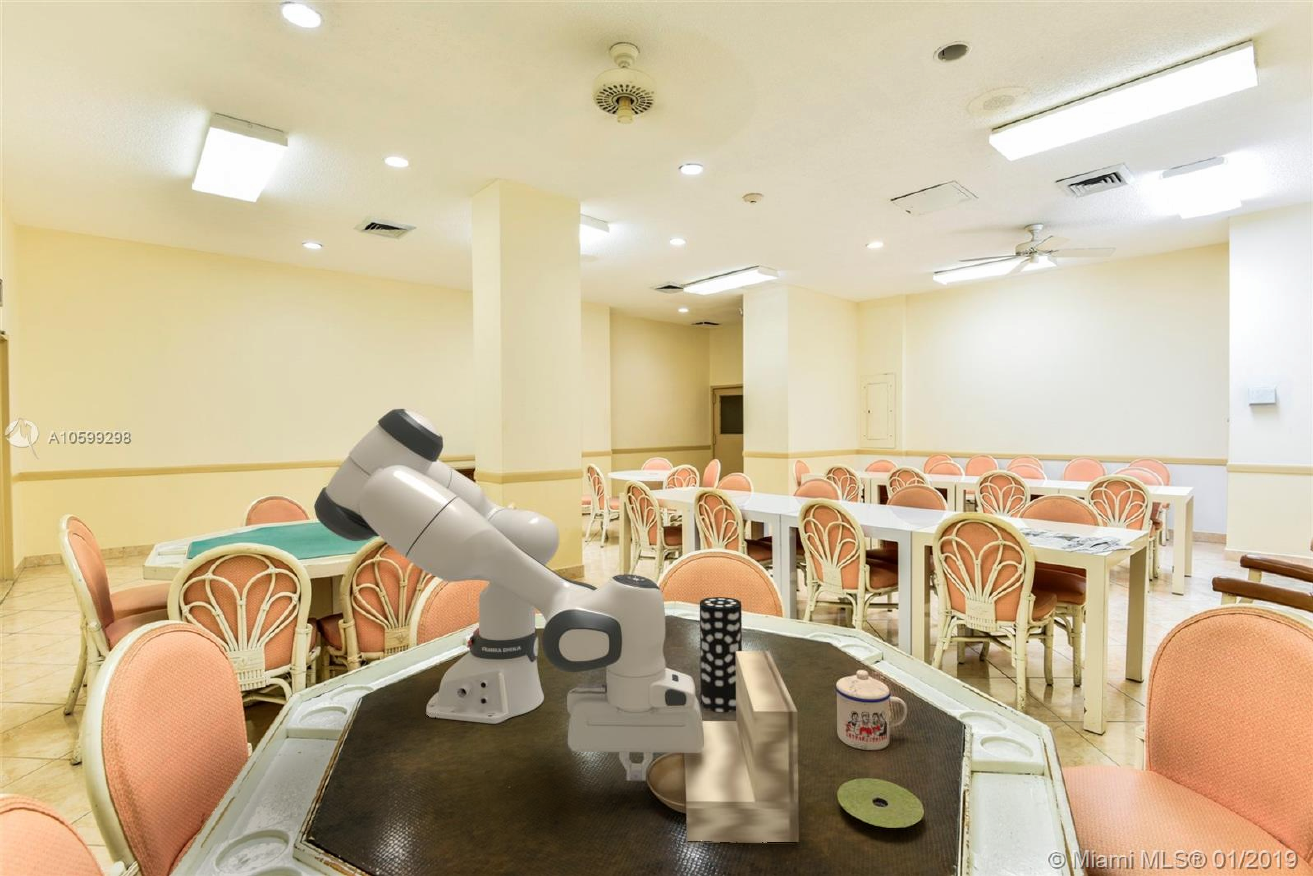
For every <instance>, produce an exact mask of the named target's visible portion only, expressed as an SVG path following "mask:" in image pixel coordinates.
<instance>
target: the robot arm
mask: <svg viewBox="0 0 1313 876" xmlns="http://www.w3.org/2000/svg"><path fill="white" fill-rule="evenodd" d="M443 448H444V438H443V436H442V435H441V434H440V433H439V430H438V428H437V427H436V426H435V424H434V423H433V422H432V421H431V420H429V419H428V418H427V417H426V416H424V415H422V414H420V413H417V412H415V411H413V410H407V409H405V408H393V409H391V410H390V411H389V412H387V413H386V414H384V415H383V416H382V417H380V418H379V419H378V420H377V424H376V425H375V426H374V427H373V428H372V429H370V431H369V432H367V434H365V436H363V437H362V439H361V440H359V441H358V443H357V444H356V445H355V446H354V447H352V449H351V450H350V452H349V453H348V456H347V457H346V458H345V460H344V461H343V462H341V463H342V464H340V466H339V468H337V470H336V472H335V473H334V474H333V476H332V478H331V479H330V481H329V482H328V484H327V485H326V486H325V487H323V488H322V489H321V490H320V492H319V494H318V496H317V497H316V500H315V502H314V505H313V508H314V511H315V516H316V518H317V520H318V521H319V522H320V523H321V525H323V526H324V527H325V528H326V530H327V531H330V532H331V533H332V534H334V535H335V536H338V537H340V538H343V539H345V540H347V541H348V540H349V541H351V542H361V541H362V542H363V541H368V540H370V539H372V538H373V537H377V538H378V537H379V538H381V539H382V540H383V541H384V542H385V543H386V544H387V545H389V546H390V547H391V548H392V549H394V550H395V551H396V552H397V553H399V555H401V556H403V558H405V559H407V560H408V561H409V562H410V563H412V564H413V565H415V566H417V568H419V569H420V570H422V571H423V572H426V573H428V574H430V575H432V576H434V577H436V578H438V579H441V580H443V581H445V582H447V583H448V582H449V583H450V582H451V583H457V582H466V581H484V582H488V585H487V586H485V587H484V588H483V589H482V590H481V592H480V594H479V597H478V627H477V628H476V629H475V630H474V631H473V632H472V635H471V636H469V639H468V641H467V642H466V643H467V646H466V648H468V649H469V652H467V653H466V654H465V655H463V657H461V658H460V659H458V661H456V662H455V663H454V664H452V665H451V667H449V668H448V669H447V671H446V672H445V673H444V675H443V677H442V678H441V681H440V684H439V690H438V691H437V692H436V693H434V694H433V696H432V697H431V698H430V699H429V701H428V703H427V704H426V707H425V708H426V709H425V710H426V711H425V714H426V716H427V715H428V716H429V717H428V716H427V717H428V718H435V717H436V719H445V720H446V719H447V720H455V721H463V722H464V721H465V722H475V723H483V724H499V723H502V722H504V721H506V720H507V719H510V718H512V717H516V716H519V715H523V714H526V713H528V712H531V711H533V710H535V709H536V708H538V707H539V706H540V705H542V703H543V702H544V700H545V695H544V692H543V689H542V685H541V680H540V676H539V675H540V674H539V670H538V668H539V667H538V660H537V658H538V654H539V636H538V628H537V627H536V609H537V611H539V613H540V614H541V616H542V617H544V619H545V624H544V627H543V632H542V635H541V646H542V651H543V653H544V656H545V657H546V659H548V660H547V661H548V662H549V663H551V665H553V666H554V667H556V668H557V669H559V670H560V671H562V672H566V673H567V672H568V673H581V672H586V671H591V670H592V671H593V670H596V669H597V670H598V669H601V668H605V667H606V684H591V685H586V684H578V685H576V687H574V688H572V689H570V690H569V692H568V693H567V695H566V708H567V709H566V710H567V711H568V713H569V715H570V718H569V724H568V731H567V732H568V733H567V745H568V747H569V748H570V750H571V751H572V752H574V753H575V752H576V753H577V752H580V753H581V752H586V753H587V752H590V753H592V752H593V753H595V752H596V753H618V754H619V755H618V759H619V761H620V763H621V764H622V765H623V768H624V769H625V770H626V781H630V782H633V781H634V782H635V781H636V782H637V781H638V782H642V781H643V782H647V780H646V773H647V770H648V768H649V766H650V765H651V764H652V761H653V760H654V753H657V754H660V753H662V754H669V753H699V752H700V751H701V750H702V749H703V747H704V731H703V722H702V721H703V718H702V717H703V715H702V709H701V703H700V702H699V699H698V698H697V696H696V685H695V682H694V679H693V677H692V676H691V675H689V674H686V673H684V672H683V673H682V672H679V671H676V670H673V669H671V668H668V667H666V664H667V663H666V658H665V656H664V645H665V644H664V643H665V640H666V611H665V601H664V598H663V593H662V592H663V591H662V590H661V588H660V587H659V586H658V585H657V583H656V582H655V581H653V580H651V579H650V578H647V577H645V576H641V575H636V574H630V573H629V574H626V573H624V574H617V575H614V576H612V577H611V579H609V580H608V581H607V582H606V583H604V584H603V585H601V586H599V587H596V586H594V585H593V584H589V583H587V582H582V581H577V580H573V579H570V578H565V577H564V576H562V575H560V574H558V573H557V572H555V571H554V570H552V569H551V568H549V567H548V566H546V565H547V564H548V563H549V562H550V561H551V560H552V559H553V558H554V557H555V555H556V554H557V552H558V550H559V549H558V548H559V544H560V533H559V528H558V526H557V525H556V523H555V522H554V521H553V520H552V519H551V518H549V517H547V516H545V515H543V514H540V513H538V512H537V511H533V510H528V509H527V510H525V509H515V508H510V507H506V506H502V505H500V504H497V503H495V502H493V501H492V500H490V498H488V497H487V495H486V494H485V493H484V491H483V488H482V487H481V486H480V485H479V484H478V483H476V482H475V481H473V480H472V479H470V478H468V477H466V476H465V475H463V473H460V472H459V471H457V470H456V469H454V468H453V467H451V466H450V465H448V464H446V463H444V462H443V461H442V460H440V459H439V457H440V456H441V453H442V452H443ZM630 753H642V754H643V761H642V762H640V763H634V762H632V761H631V759H630Z"/></svg>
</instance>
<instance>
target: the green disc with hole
mask: <svg viewBox="0 0 1313 876" xmlns="http://www.w3.org/2000/svg"><path fill="white" fill-rule="evenodd" d="M836 795H837V800H838V803H839V804H840V806H841V807H842V808H843V809H844V810H845V811H846V812H847V813H848V814H850V815H851V816H852V817H855V818H856V819H859V820H861V821H862V822H864V823H868V824H870V825H873V826H876V827H882V828H895V829H896V828H908V827H910V826H913V825H914V824H916V823H918V822H919V821H921V820H922V819H923V816H924V814H925V810H924V807H923V806H924V805H923V803H922V802H921V800H920V799H919V798H918V797H917V796H916V795H914V794H913V792H911V791H909V790H908V789H906V788H905V787H902V786H900V785H899V784H896V783H893V782H891V781H887V780H883V779H879V778H870V777H869V778H868V777H867V778H861V777H859V778H855V779H852V780H848V781H845V782H844V783H843V784H841V785H840V786H839V787H838V790H837V793H836Z"/></svg>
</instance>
